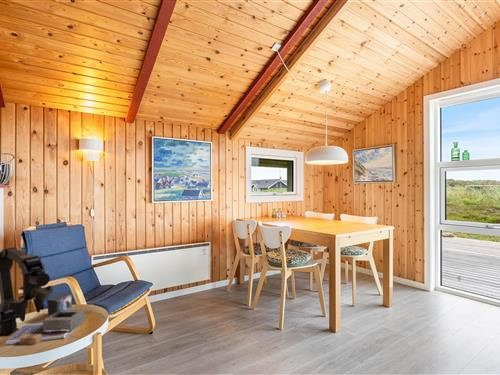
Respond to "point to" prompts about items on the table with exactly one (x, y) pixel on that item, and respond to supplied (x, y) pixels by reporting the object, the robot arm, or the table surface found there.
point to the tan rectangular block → (30, 338)
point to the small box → (59, 303)
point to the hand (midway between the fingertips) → (30, 316)
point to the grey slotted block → (64, 320)
